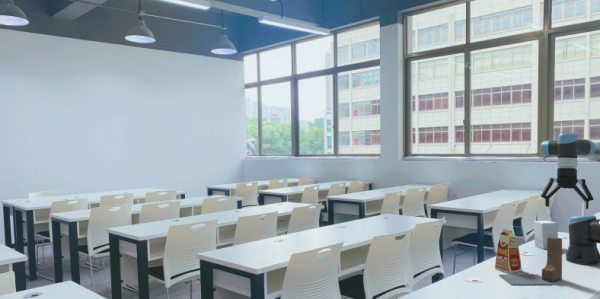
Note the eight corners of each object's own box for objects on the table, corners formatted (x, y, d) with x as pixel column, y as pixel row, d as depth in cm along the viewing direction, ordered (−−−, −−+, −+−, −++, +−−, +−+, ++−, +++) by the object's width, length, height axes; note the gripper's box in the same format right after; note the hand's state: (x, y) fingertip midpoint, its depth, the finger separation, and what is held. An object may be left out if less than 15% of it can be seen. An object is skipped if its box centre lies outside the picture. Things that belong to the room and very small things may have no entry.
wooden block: (552, 281, 182) (552, 239, 183) (541, 279, 186) (541, 238, 187) (562, 279, 187) (562, 238, 188) (551, 276, 191) (551, 236, 192)
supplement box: (559, 249, 240) (558, 222, 240) (543, 249, 240) (542, 223, 240) (549, 245, 249) (548, 220, 249) (534, 246, 249) (533, 220, 249)
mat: (537, 275, 194) (537, 274, 194) (552, 285, 180) (552, 283, 180) (499, 275, 195) (499, 274, 195) (511, 285, 181) (511, 284, 181)
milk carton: (510, 273, 198) (509, 230, 198) (493, 268, 206) (492, 227, 207) (523, 270, 202) (521, 228, 203) (506, 265, 211) (504, 225, 211)
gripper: (538, 166, 189) (537, 213, 188) (602, 168, 182) (602, 218, 182) (534, 166, 196) (533, 212, 196) (595, 168, 190) (595, 216, 189)
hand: (566, 215), depth 189 cm, fingers open, 13 cm apart
